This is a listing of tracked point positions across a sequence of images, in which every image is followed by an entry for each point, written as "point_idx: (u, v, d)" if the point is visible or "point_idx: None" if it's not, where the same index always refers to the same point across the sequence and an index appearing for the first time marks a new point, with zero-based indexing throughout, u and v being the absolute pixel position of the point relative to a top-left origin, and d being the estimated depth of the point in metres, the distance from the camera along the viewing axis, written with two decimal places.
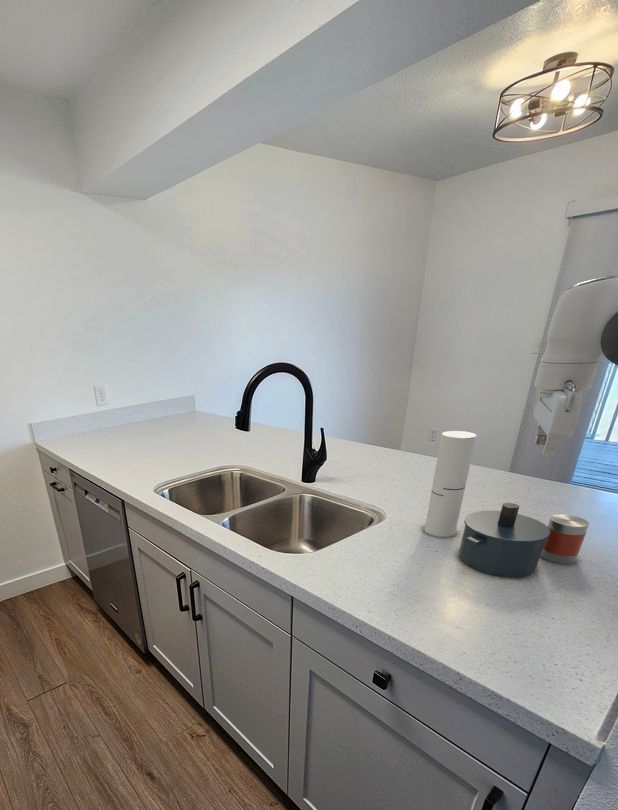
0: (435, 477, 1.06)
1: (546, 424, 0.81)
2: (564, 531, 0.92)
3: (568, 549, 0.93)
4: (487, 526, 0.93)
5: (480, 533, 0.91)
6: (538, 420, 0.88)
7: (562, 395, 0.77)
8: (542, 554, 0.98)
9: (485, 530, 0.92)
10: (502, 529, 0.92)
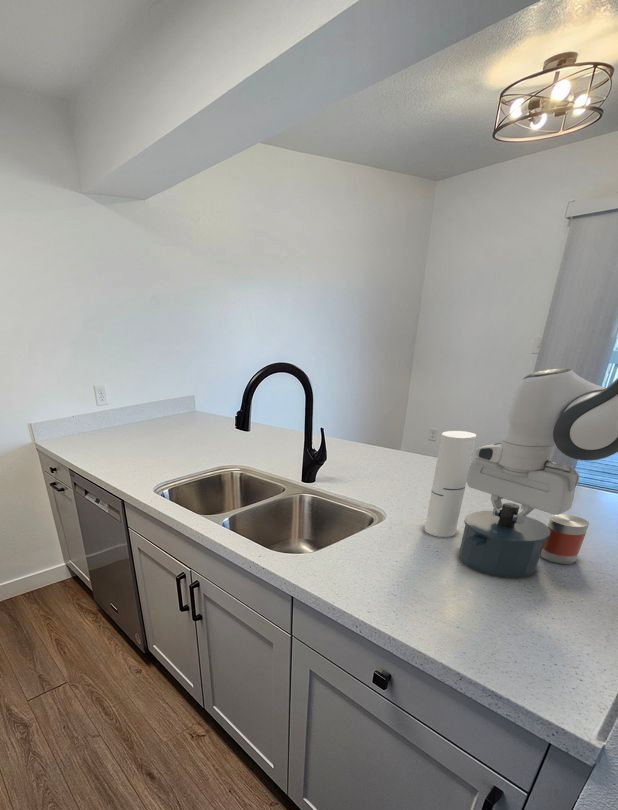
0: (435, 477, 1.06)
1: (538, 501, 0.84)
2: (564, 531, 0.92)
3: (568, 549, 0.93)
4: (487, 526, 0.93)
5: (480, 533, 0.91)
6: (497, 493, 0.92)
7: (562, 477, 0.80)
8: (542, 554, 0.98)
9: (485, 530, 0.92)
10: (502, 529, 0.91)
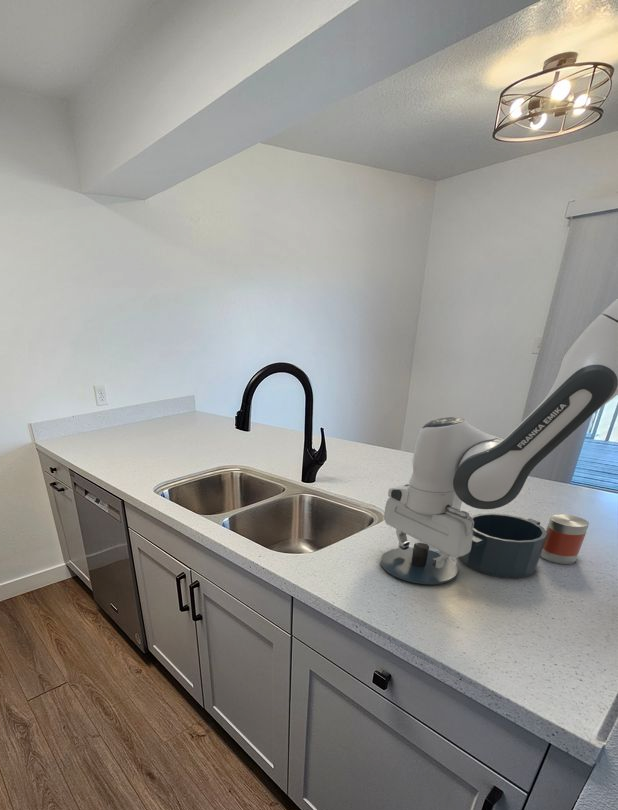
0: None
1: (441, 544, 0.87)
2: (564, 531, 0.92)
3: (568, 549, 0.93)
4: (400, 565, 0.96)
5: (391, 573, 0.94)
6: (409, 533, 0.94)
7: (459, 522, 0.83)
8: (542, 554, 0.98)
9: (397, 569, 0.94)
10: (413, 569, 0.94)
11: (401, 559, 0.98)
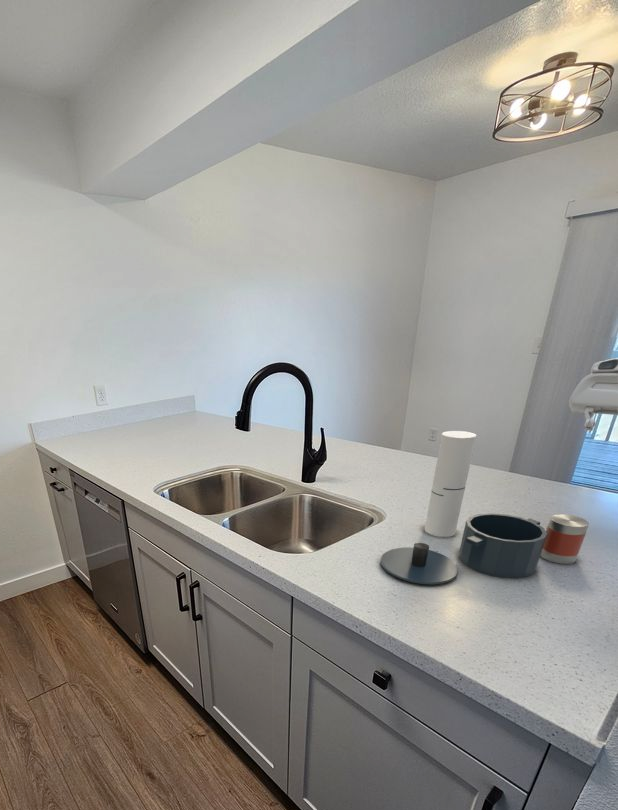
0: (435, 477, 1.06)
1: None
2: (564, 531, 0.92)
3: (568, 549, 0.93)
4: (400, 565, 0.96)
5: (391, 573, 0.94)
6: (613, 403, 0.90)
7: None
8: (542, 554, 0.98)
9: (397, 569, 0.94)
10: (413, 569, 0.94)
11: (401, 559, 0.98)
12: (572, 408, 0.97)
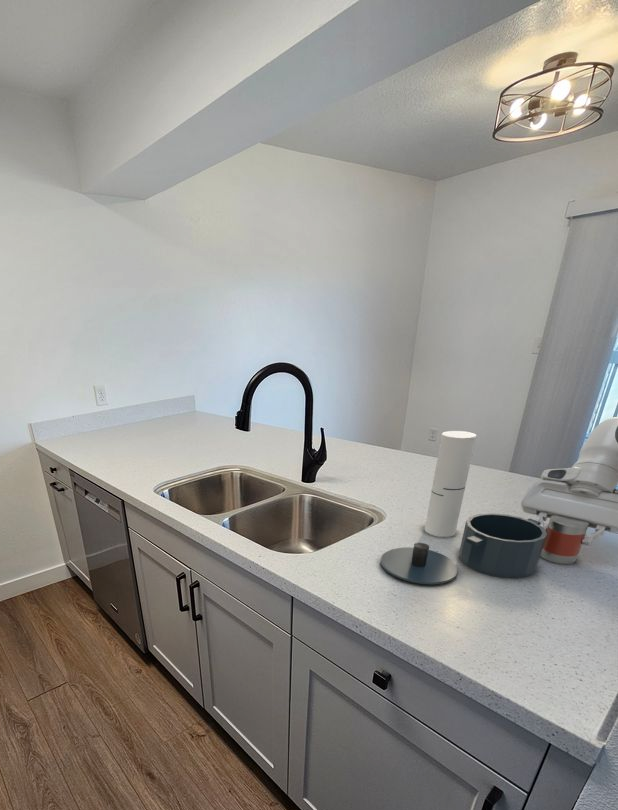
0: (435, 477, 1.06)
1: (610, 517, 0.90)
2: (564, 531, 0.92)
3: (568, 549, 0.93)
4: (400, 565, 0.96)
5: (391, 573, 0.94)
6: (561, 511, 0.96)
7: None
8: (542, 554, 0.98)
9: (397, 569, 0.94)
10: (413, 569, 0.94)
11: (401, 559, 0.98)
12: (524, 509, 1.02)
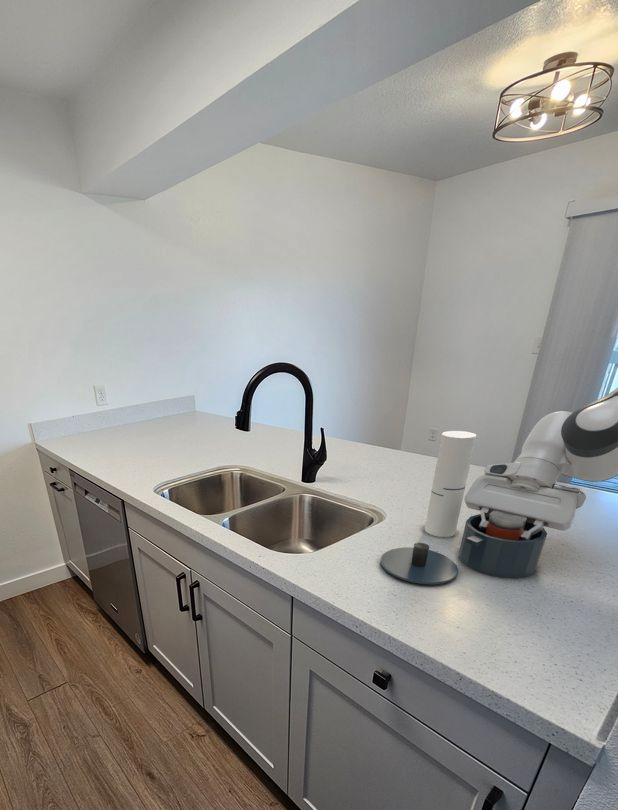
0: (435, 477, 1.06)
1: (547, 513, 0.89)
2: (502, 526, 0.91)
3: None
4: (400, 565, 0.96)
5: (391, 573, 0.94)
6: (501, 506, 0.95)
7: (573, 494, 0.88)
8: None
9: (397, 569, 0.94)
10: (413, 569, 0.94)
11: (401, 559, 0.98)
12: (467, 505, 1.01)
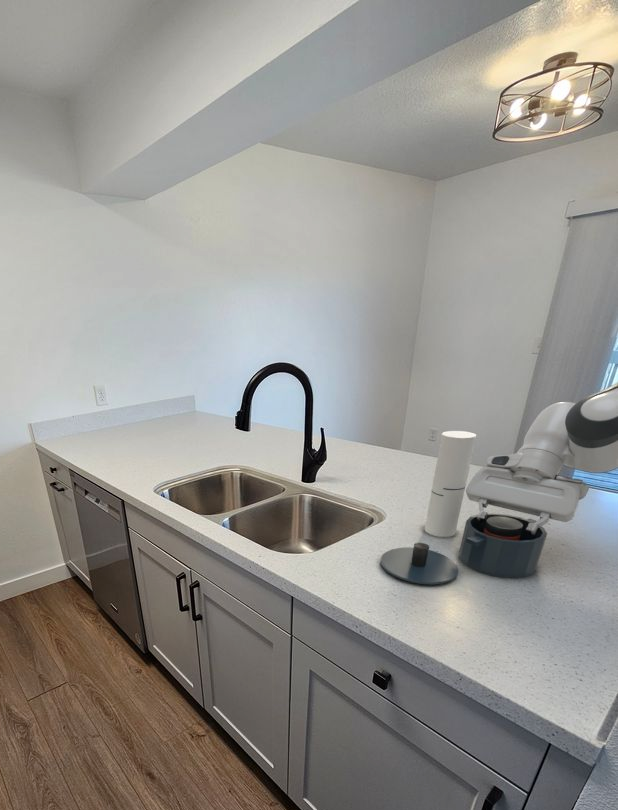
0: (435, 477, 1.06)
1: (550, 504, 0.88)
2: (498, 533, 0.92)
3: None
4: (400, 565, 0.96)
5: (391, 573, 0.94)
6: (503, 498, 0.94)
7: (575, 485, 0.88)
8: None
9: (397, 569, 0.94)
10: (413, 569, 0.94)
11: (401, 559, 0.98)
12: (469, 497, 1.00)
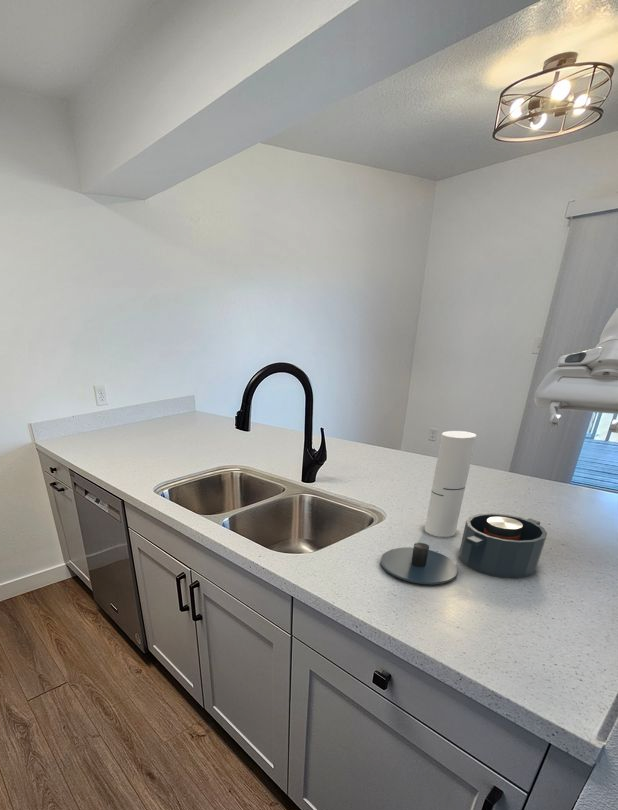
0: (435, 477, 1.06)
1: None
2: (498, 533, 0.92)
3: None
4: (400, 565, 0.96)
5: (391, 573, 0.94)
6: (580, 397, 0.84)
7: None
8: None
9: (397, 569, 0.94)
10: (413, 569, 0.94)
11: (401, 559, 0.98)
12: (537, 403, 0.90)
